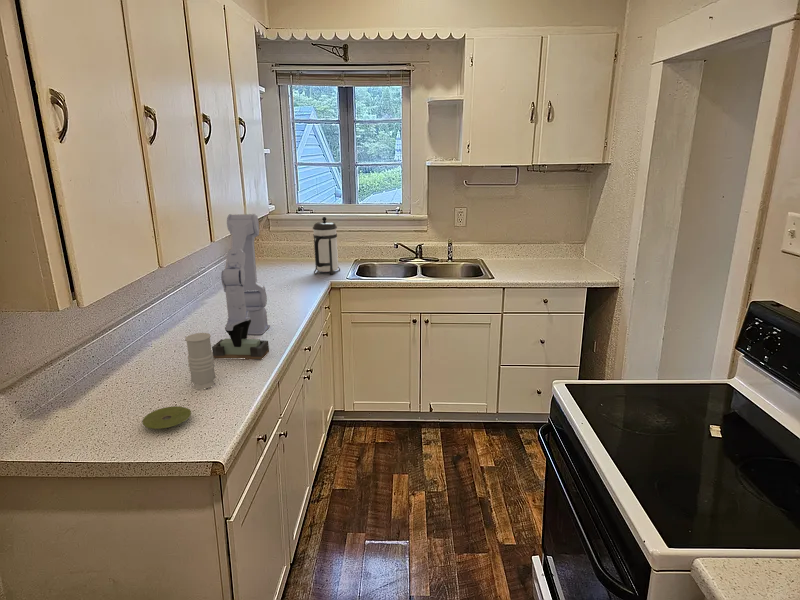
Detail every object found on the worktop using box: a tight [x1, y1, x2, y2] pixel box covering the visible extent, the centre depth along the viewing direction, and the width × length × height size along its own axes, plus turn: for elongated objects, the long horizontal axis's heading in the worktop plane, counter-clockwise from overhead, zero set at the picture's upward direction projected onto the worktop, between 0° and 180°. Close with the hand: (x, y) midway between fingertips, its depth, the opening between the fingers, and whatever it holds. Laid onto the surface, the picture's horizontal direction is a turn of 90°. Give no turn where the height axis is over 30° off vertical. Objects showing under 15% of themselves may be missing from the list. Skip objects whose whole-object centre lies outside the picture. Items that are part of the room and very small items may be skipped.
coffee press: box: [312, 216, 341, 276], centre depth 282 cm, size 17×16×30 cm
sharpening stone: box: [220, 338, 261, 355], centre depth 175 cm, size 4×12×4 cm, turn 84°
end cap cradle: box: [211, 339, 270, 360], centre depth 175 cm, size 7×16×4 cm, turn 84°
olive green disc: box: [142, 405, 192, 430], centre depth 133 cm, size 11×11×2 cm
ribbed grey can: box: [184, 332, 217, 390], centre depth 152 cm, size 7×7×15 cm
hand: (240, 344), depth 175 cm, fingers open, 4 cm apart
